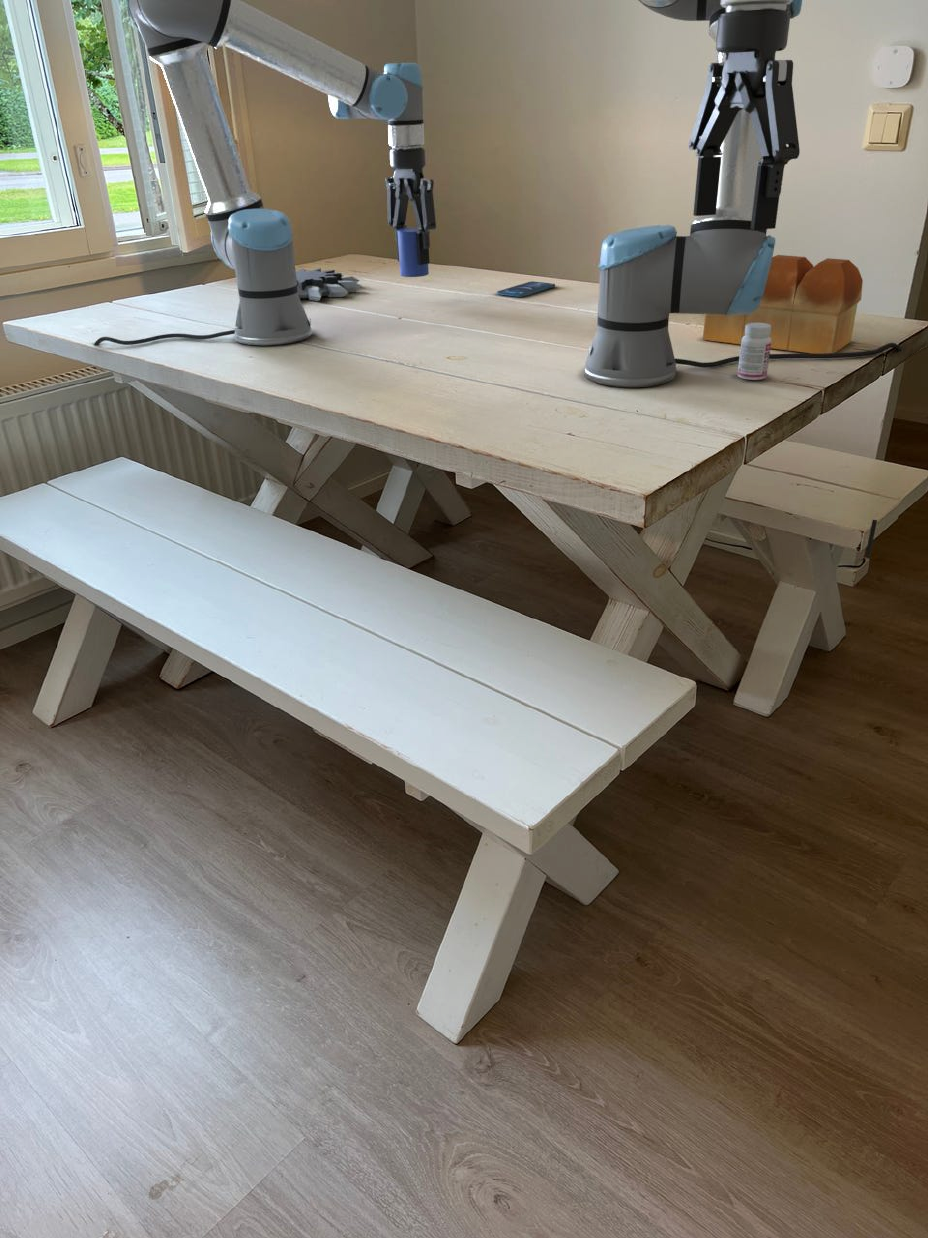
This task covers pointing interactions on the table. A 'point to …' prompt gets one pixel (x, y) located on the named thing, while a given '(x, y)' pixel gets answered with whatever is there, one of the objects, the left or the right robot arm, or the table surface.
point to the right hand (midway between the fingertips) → (732, 221)
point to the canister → (410, 254)
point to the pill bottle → (755, 351)
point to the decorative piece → (324, 284)
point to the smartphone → (525, 289)
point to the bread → (799, 306)
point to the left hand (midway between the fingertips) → (413, 262)
